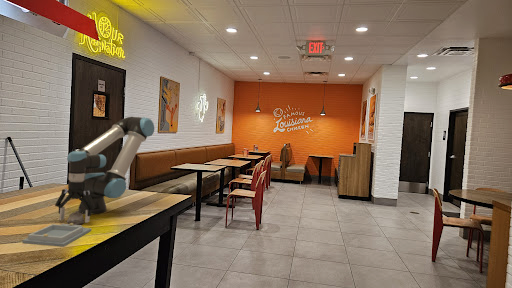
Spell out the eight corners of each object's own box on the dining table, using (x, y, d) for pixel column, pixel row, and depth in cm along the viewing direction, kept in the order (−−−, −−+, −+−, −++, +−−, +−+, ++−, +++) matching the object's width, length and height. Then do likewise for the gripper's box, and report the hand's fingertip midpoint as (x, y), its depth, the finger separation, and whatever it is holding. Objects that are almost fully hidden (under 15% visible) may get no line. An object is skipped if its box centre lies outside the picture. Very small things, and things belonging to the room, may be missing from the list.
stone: (67, 226, 163) (67, 215, 163) (66, 221, 171) (66, 210, 171) (84, 225, 167) (85, 214, 167) (83, 220, 176) (83, 209, 176)
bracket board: (55, 227, 160) (56, 219, 160) (91, 230, 159) (91, 222, 159) (22, 243, 138) (22, 233, 138) (63, 246, 137) (64, 237, 137)
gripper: (48, 180, 164) (46, 220, 165) (96, 184, 164) (94, 224, 165) (58, 177, 172) (55, 217, 173) (103, 181, 171) (101, 220, 172)
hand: (74, 220), depth 169 cm, fingers open, 13 cm apart
